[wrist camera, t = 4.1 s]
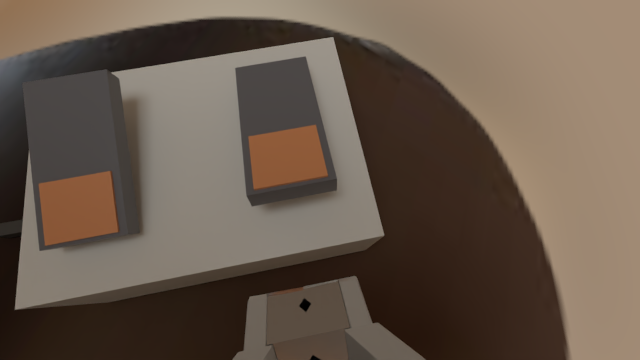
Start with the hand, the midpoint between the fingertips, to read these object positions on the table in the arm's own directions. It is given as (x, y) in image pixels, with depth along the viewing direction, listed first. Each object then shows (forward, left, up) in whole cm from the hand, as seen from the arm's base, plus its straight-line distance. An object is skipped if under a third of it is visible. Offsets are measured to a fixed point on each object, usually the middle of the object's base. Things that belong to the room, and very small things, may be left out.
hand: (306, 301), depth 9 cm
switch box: (-13, 0, -16) cm, 21 cm away
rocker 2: (-6, +6, -8) cm, 12 cm away
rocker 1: (-14, -1, -8) cm, 16 cm away
